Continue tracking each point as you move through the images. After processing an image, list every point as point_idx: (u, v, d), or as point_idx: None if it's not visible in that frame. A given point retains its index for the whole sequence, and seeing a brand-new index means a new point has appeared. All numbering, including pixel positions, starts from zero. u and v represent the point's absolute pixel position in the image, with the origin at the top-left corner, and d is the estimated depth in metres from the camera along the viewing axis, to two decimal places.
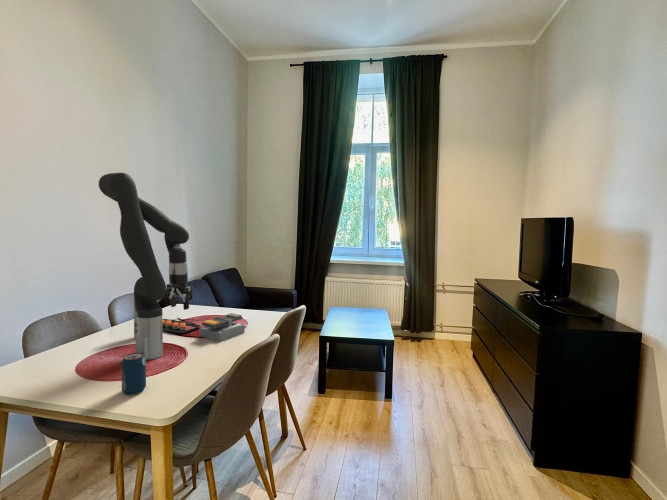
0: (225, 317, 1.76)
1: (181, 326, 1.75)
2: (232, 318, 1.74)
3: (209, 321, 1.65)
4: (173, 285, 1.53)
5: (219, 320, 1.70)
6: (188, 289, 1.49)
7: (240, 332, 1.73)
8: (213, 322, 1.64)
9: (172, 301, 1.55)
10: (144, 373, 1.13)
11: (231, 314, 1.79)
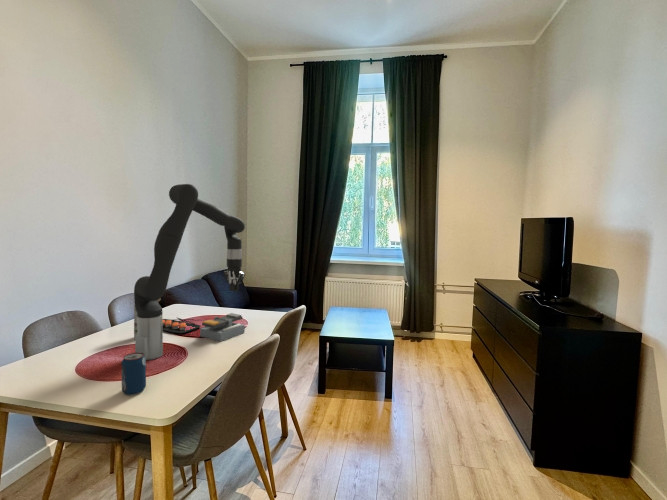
0: (225, 317, 1.76)
1: (181, 326, 1.75)
2: (232, 318, 1.74)
3: (209, 321, 1.65)
4: (228, 268, 1.77)
5: (219, 320, 1.70)
6: (242, 275, 1.73)
7: (240, 332, 1.73)
8: (213, 322, 1.64)
9: (231, 285, 1.77)
10: (144, 373, 1.13)
11: (231, 314, 1.79)
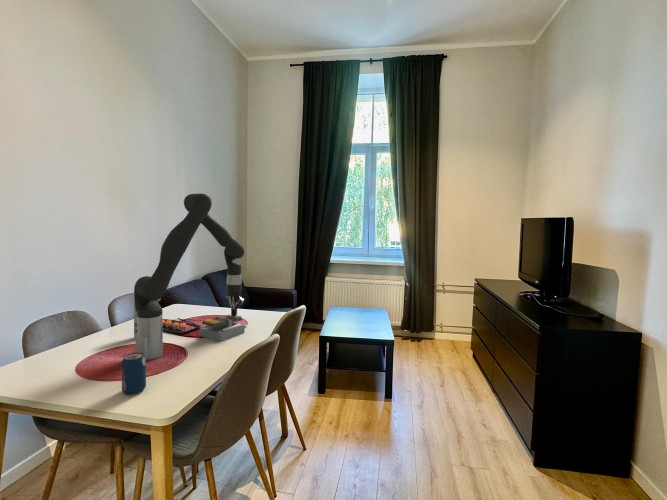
0: (225, 317, 1.76)
1: (181, 326, 1.75)
2: (232, 319, 1.74)
3: (209, 320, 1.65)
4: (228, 293, 1.78)
5: (219, 320, 1.70)
6: (241, 302, 1.75)
7: (240, 332, 1.73)
8: (213, 321, 1.64)
9: None
10: (144, 373, 1.13)
11: (231, 315, 1.79)
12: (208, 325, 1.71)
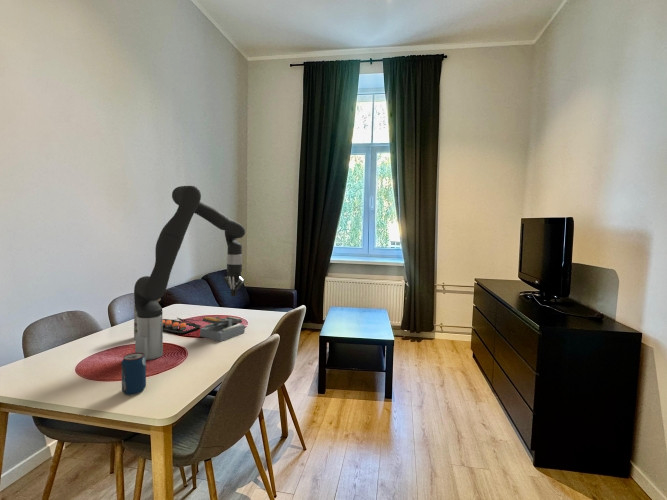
0: (225, 318, 1.76)
1: (181, 326, 1.76)
2: (232, 320, 1.74)
3: (210, 317, 1.66)
4: (228, 273, 1.77)
5: (219, 319, 1.70)
6: (241, 282, 1.74)
7: (240, 332, 1.73)
8: (214, 318, 1.64)
9: None
10: (144, 373, 1.13)
11: (231, 317, 1.79)
12: (208, 325, 1.71)
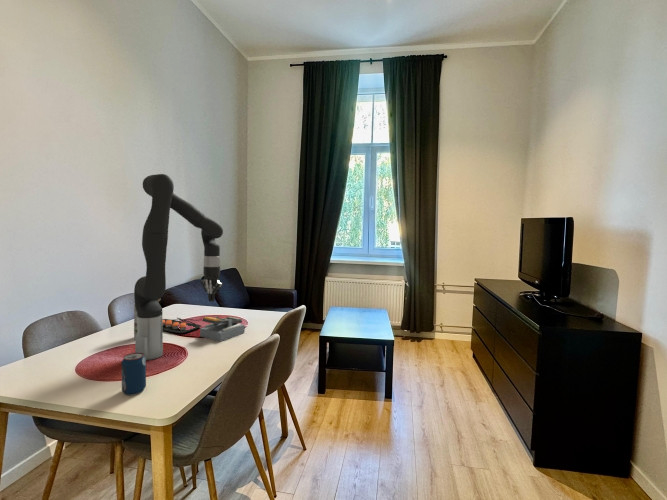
0: (225, 318, 1.76)
1: (181, 326, 1.76)
2: (232, 320, 1.74)
3: (210, 317, 1.66)
4: (205, 276, 1.64)
5: (219, 319, 1.70)
6: (219, 285, 1.61)
7: (240, 332, 1.73)
8: (214, 318, 1.64)
9: None
10: (144, 373, 1.13)
11: (231, 317, 1.79)
12: (208, 325, 1.71)
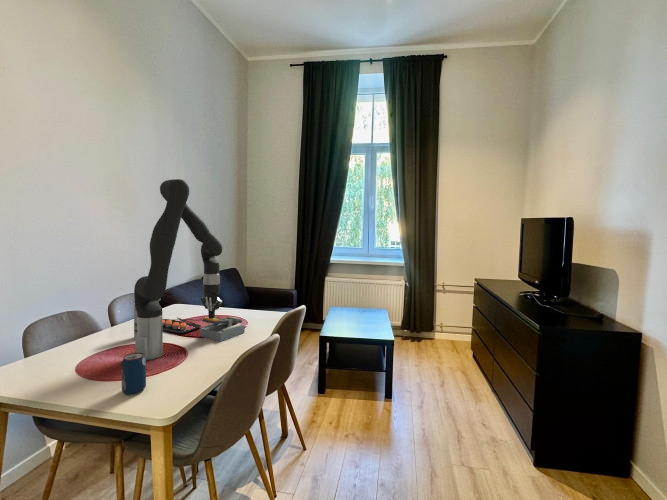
0: (225, 318, 1.76)
1: (182, 326, 1.76)
2: (232, 320, 1.74)
3: (210, 318, 1.66)
4: (205, 293, 1.65)
5: (219, 319, 1.70)
6: (219, 303, 1.61)
7: (240, 332, 1.73)
8: (214, 318, 1.64)
9: None
10: (144, 373, 1.13)
11: (231, 317, 1.79)
12: (208, 325, 1.71)
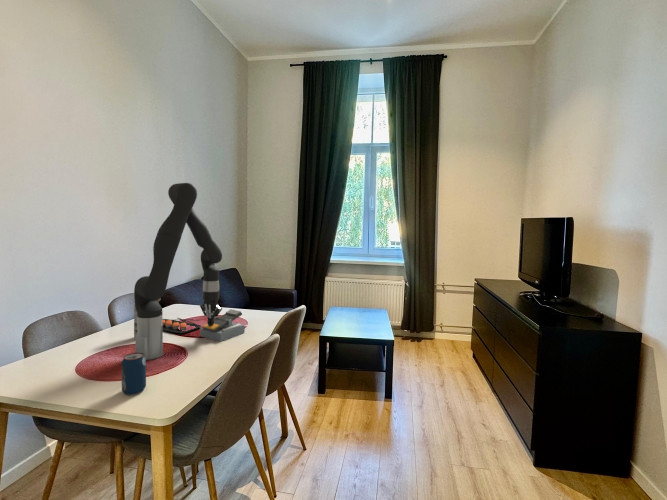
0: (225, 316, 1.75)
1: (182, 326, 1.76)
2: (232, 316, 1.74)
3: None
4: (205, 300, 1.65)
5: (219, 321, 1.70)
6: (218, 310, 1.61)
7: (240, 332, 1.73)
8: (213, 326, 1.64)
9: None
10: (144, 373, 1.13)
11: (230, 311, 1.78)
12: None
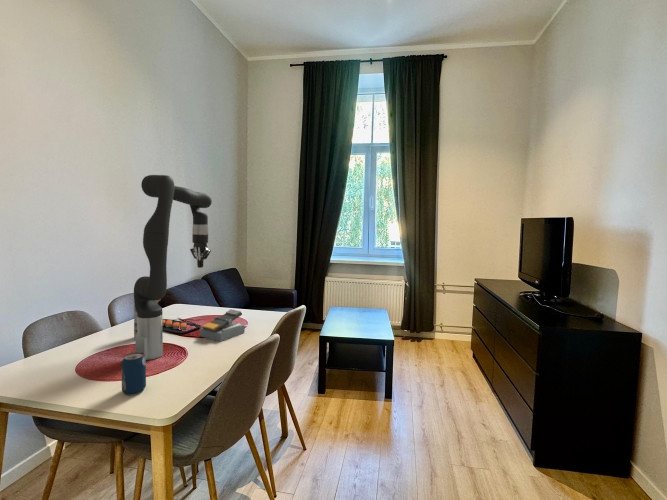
0: (225, 316, 1.75)
1: (182, 326, 1.76)
2: (232, 316, 1.74)
3: (209, 325, 1.65)
4: (194, 244, 1.74)
5: (219, 321, 1.70)
6: (207, 252, 1.71)
7: (240, 332, 1.73)
8: (213, 326, 1.64)
9: None
10: (144, 373, 1.13)
11: (230, 311, 1.78)
12: None
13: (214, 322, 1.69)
